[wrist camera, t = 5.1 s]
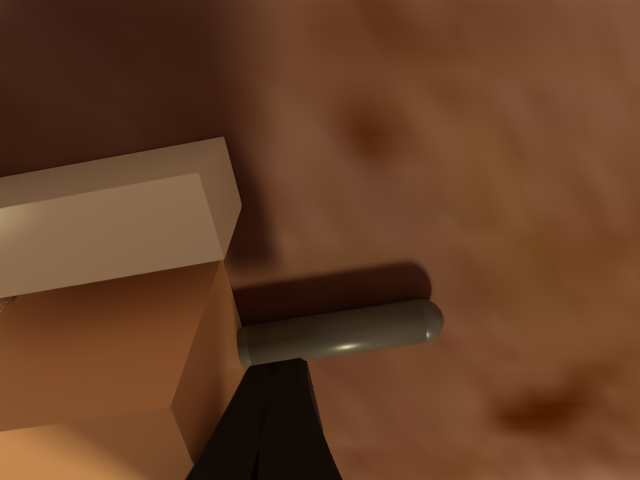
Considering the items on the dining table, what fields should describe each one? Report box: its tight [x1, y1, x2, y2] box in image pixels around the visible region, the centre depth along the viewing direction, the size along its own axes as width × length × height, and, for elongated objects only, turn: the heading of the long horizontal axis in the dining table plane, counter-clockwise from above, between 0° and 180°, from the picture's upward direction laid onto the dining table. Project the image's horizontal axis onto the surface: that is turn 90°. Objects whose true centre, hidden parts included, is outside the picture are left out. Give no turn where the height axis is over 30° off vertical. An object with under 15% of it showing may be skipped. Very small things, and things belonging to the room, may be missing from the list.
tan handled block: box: [0, 260, 444, 480], centre depth 9 cm, size 4×9×4 cm, turn 99°
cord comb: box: [0, 137, 242, 298], centre depth 10 cm, size 23×12×2 cm, turn 10°
